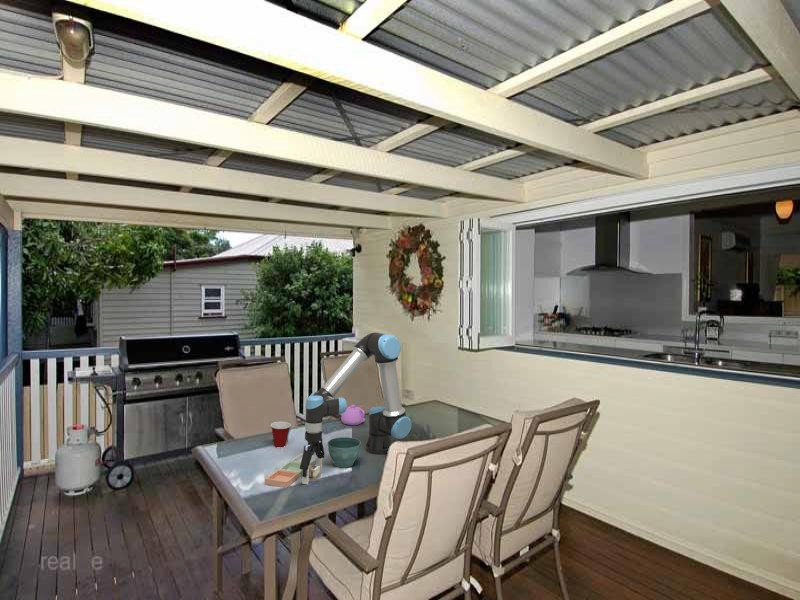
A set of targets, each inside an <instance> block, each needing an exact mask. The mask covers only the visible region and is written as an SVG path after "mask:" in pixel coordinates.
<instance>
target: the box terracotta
mask: <svg viewBox="0 0 800 600" xmlns="http://www.w3.org/2000/svg"><path fill="white" fill-rule="evenodd" d="M299 479H300V478H299V473H296V472H289V471H282V470H278V469H276V470H275V471H274V472H273V473H271V474H270V475H269V476H267V477H266V478H264V485H265V486H266V485H267V486H272V487H280V488H284V489H287V488H289V487H290V486H291V485H292V484H294V483H295V482H296V481H298V480H299Z"/></svg>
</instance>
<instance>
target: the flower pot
mask: <svg viewBox="0 0 800 600" xmlns="http://www.w3.org/2000/svg"><path fill="white" fill-rule="evenodd" d="M361 445H362V441H361V440H360V439H359V438H356V437H349V436H348V437H347V436H345V437H344V436H342V437H341V436H340V437H335V438H332V439H329V440H328V441H327V450H328V454H329V457H330V459H331V460H332V462H333V465H334V466H335V467H337V468H350V467H352V466H353V465H354V463H355V461H356V460H357V458H358V456H359V453H360V451H361Z"/></svg>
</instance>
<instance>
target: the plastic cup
mask: <svg viewBox="0 0 800 600" xmlns="http://www.w3.org/2000/svg"><path fill="white" fill-rule="evenodd" d="M270 427H271V432H272V438H273V439H272V440H273V445H274V446H273V447H274V448H277V447H282V448H285V447H286V444H287V440H288V437H289V436H288V435H289V431H290V428H291V427H292V423H290V422H289V421H288V422H287V421H274V422H272V423H271V424H270ZM284 446H285V447H284Z"/></svg>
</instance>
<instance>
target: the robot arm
mask: <svg viewBox="0 0 800 600" xmlns="http://www.w3.org/2000/svg"><path fill="white" fill-rule="evenodd" d="M401 350H402V344H401V342H400V340H399V339H398V338H397V337H396V336H395V335H393V334H389V333H380V332H370V333H368V334H367V335H364V336H363V337H362V338H361V339H359V341H358V342H357V343H356V344H355V345H354V346H353V347H352V351H351V353H350V354H349V355H348V356H347V358H346V359H344V361H343V362H342V363H341V364H340V366H339V367H338V368H337V369H336V370H335V371H334V373H333V374H332V375H331V377H329V378H328V380H327V381H326V382H325V383H324V385H323V386H322V387H321V388H320V389H319V390H318V391H313V392H312V393H311V394H310V395H309V396H308V397H307V398H306V403H305V422H304V425H305V432H304V440H305V441H306V442H307V444H306V445H303V452H302V454H303V456H302V460H301V465H300V469H302V476H301V484H302V485H309V481H310V480H309V469H308V467H309V464H310V460H311V457H312V455H314V454H315V456H317V457H318V458H316V466H320V474H321V473H322V472H323V468H322V467H323V459H325V453H326V452H325V448H324V444H323V420H324V419H323V417H329V416H336V415H337V416H338V415H340V414H342V413H344V412H345V411H346V409H347V407H348V403H347V400H346V398H344V397H339V396H338V397H335V396H336V395H337V394H338V392H339V391H340V390H341V389H342V388H343V387H344V385H345V384H346V383H347V382H348V381H349V379H350V378H351V377H352V376H353V374H355V372H356V371H357V370H358V369H359V367H361V365H362V364H363V363H364V362H365V361H369V359H370V358H371V357H372V356H374V361H375V364H377V365H378V368H379V374H380V375H379V377H380V382H381V389H382V396H383V403H384V405H378V406H377V405H376V406H373V407H371V408H370V409H369V413H368V436H367V439H366V441H365V446H364V449H365V451H366V452H368V453H370V454H375V455H386V454H388V453H387V451H388V448H389V446H390V444H391V443H393V440H392V438H394V439H397V440H399V439H400V440H401V439H404V438H405V437H407V436H408V435H409V433H410V431H411V429H412V425H413V424H412V421H411V419H410V418H409V417H408V416H407V413H406V408H404V407H403V405H402V400H401V399H402V398H401V392H400V385H399V378H398V372H397V371H398V370H397V362H398V360H399V356H400V353H401Z"/></svg>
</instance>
